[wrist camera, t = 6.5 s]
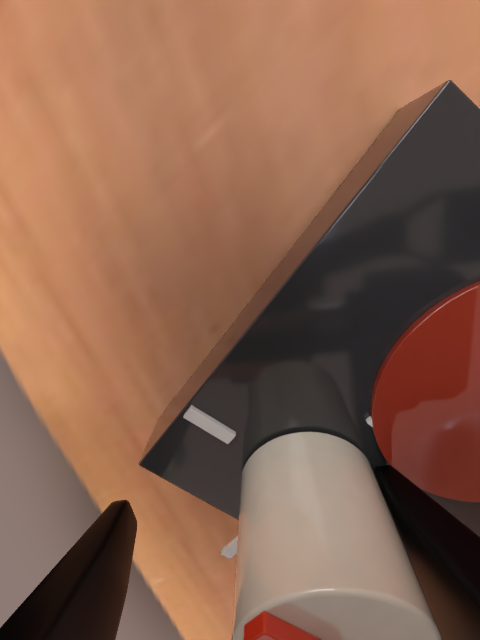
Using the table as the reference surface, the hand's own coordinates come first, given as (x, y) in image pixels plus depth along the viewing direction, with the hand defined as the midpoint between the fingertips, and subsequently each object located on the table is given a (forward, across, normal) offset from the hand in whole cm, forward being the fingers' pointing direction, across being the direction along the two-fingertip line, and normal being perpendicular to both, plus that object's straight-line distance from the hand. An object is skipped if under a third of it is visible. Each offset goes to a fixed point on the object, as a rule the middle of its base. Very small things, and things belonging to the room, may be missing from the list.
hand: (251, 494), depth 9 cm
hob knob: (0, -2, 0) cm, 2 cm away
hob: (+2, -4, -1) cm, 5 cm away
